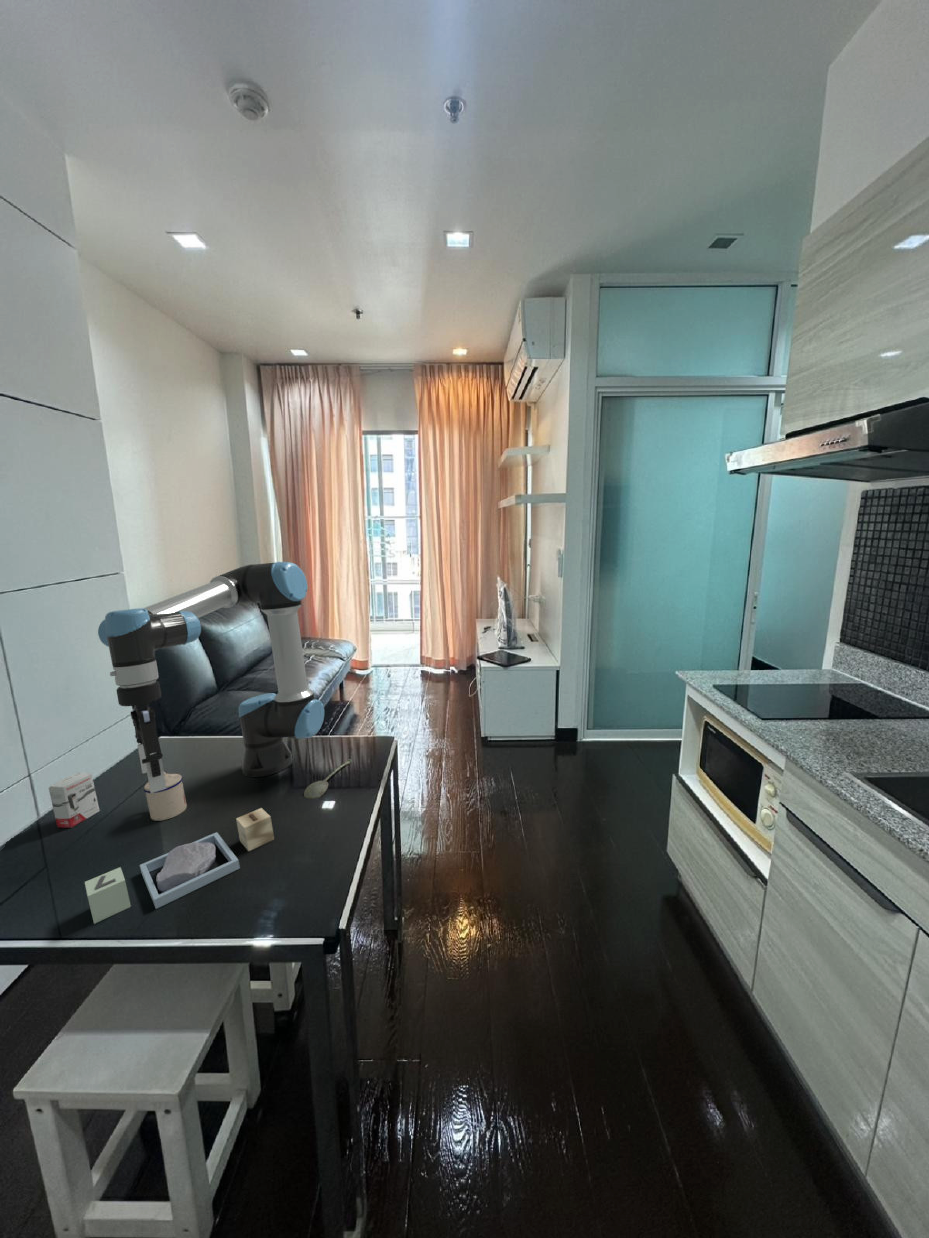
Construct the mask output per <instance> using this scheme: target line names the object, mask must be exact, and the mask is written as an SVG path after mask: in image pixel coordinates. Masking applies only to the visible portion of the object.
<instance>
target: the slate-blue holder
mask: <svg viewBox="0 0 929 1238" xmlns="http://www.w3.org/2000/svg"><path fill="white" fill-rule="evenodd" d="M194 842H196V843H204V842H208V843H212V844H214V845H215V846H216V847H217V848H218V849H219V851H220V852H221V853H222V855H223V856H224V857H225V859H226V860H227V861H228V862H225V863H223V864H221V865H220V866H217V867H215V868H213V869H211V870H209V871H208V870H207V871H206V872H205V873H204V874H202V875H200V876H198V877H196V878H194V879H191V880H189V881H187V882H185V883H183V884H181V885H179V886H177V887H174V888H172V889H170V890H168V891H165V892H161V893H158V889H157V886H156V885H155V883H154V881H153V878H152V876H151V874H150V872H153V871H155V870H157V869H160V868H163V866H164V863H165V860H166V858H167V856H168V854H169V852H168V853H165V854H162V855H160V856H158V857H156V858H153V859H151V860H148V861H146V862H144V863H141V864H139V869H140V873H141V875H142V878H143V880H144V883H145V885H146V888H147V890H148V892H149V895H150V898H151V900H152V902H153V905H154V908H155V910H157V909H159V908H161V907H163V906H165V905H167V904H169V903H172V902H174V901H176V900H178V899H180V898H181V897H184V896H186V895H189V894H190V893H192V892H194V891H196V890H198V889H200V888H203V887H204V886H206V885H208V884H210V883H212V882H215V881H216V880H219V879H221V878H222V877H225V876H227V875H229V874H231V873H234V872H235V871H237V870H239V869H241V866H240V862H239V861H240V860H239V859H238V857H237V856H236V855H235V854H234V852H233V850H231V848H230V847H229V846H228V844H227V843H226V842H225V840H224V839H223V838H222V837H221V835H220V834H219V833H218V832H217V831H216V832H214V833H212V834H209V835H206V836H204V837H202V838H200V839H197V840H195V841H193V842H191V843H194Z"/></svg>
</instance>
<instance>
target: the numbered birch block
mask: <svg viewBox="0 0 929 1238" xmlns="http://www.w3.org/2000/svg"><path fill="white" fill-rule="evenodd" d="M271 817H272V816H271V815H270V814H268V813H267V811H265V810H264V809H263V808H262V807H260V808H258V809H256V810H254V811H253V810H252V811H251V812H248V813H246V814H243V815H241V816H239V817H236V818H235V820H236V821H235V822H236V826H237V827H236V828H237V832H238V837H239V843H241V844H242V845H243V847H244V848H245V849H246V850H247V852H250V851H253V850H255V849H257V848H259V847H261V846H263V845H266V844H267V843H269V842H270V843H271V841H274V840H275V835H274V829H273V824H272V818H271Z"/></svg>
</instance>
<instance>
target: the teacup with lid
mask: <svg viewBox="0 0 929 1238" xmlns="http://www.w3.org/2000/svg"><path fill="white" fill-rule="evenodd" d="M164 777H165V783H166V789H163V790H160V791H157V792H154V793H151V792H150V787H149V781H147V782H146V783H145V785H144V787H143V791H144V792H145V797H146V800H147V801H146V802H147V806H148V807H147V808H148V810H149V815H150V819H151V820H152V821H159V822H160V821H166V820H168V819H172V818H174V817H177V816H179V815H181V814H182V813H184V812H185V810H186V809H187V807H188V804H187V800H186V794H185V790H184V784H183V776H182V775H181V774H178V773H166V771H164Z"/></svg>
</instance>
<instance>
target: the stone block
mask: <svg viewBox="0 0 929 1238" xmlns="http://www.w3.org/2000/svg"><path fill="white" fill-rule="evenodd" d="M193 842H194V843H192V842H190V843H185V844H182V845H178V846H176V847H174V848H173V849H171V850H170V851H168V853H169V854H168V856H167V858H166V860H165V863H164V866H162V869H161V870H160V872H158V873H157V875H156V876H155V877H156V879H155V880H156V890H157V891H160V892H161V893H164V892H166V891H168V890H170V889H172V888H174V887H177V886H179V885H181V884H183V883H185V882H187V881H189V880H191V879H194V878H196V877H198V876H200V875H202V874H204V873H206V872H207V871H208V870H209V869H210V867H211V866H212V864H213V863H214V862H215V860H216V859H217V858H216V857H217V855H216V849H217V848H216V844H215V843H214V844H212V843H208V842H204V843H196V842H195V841H193Z"/></svg>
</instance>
